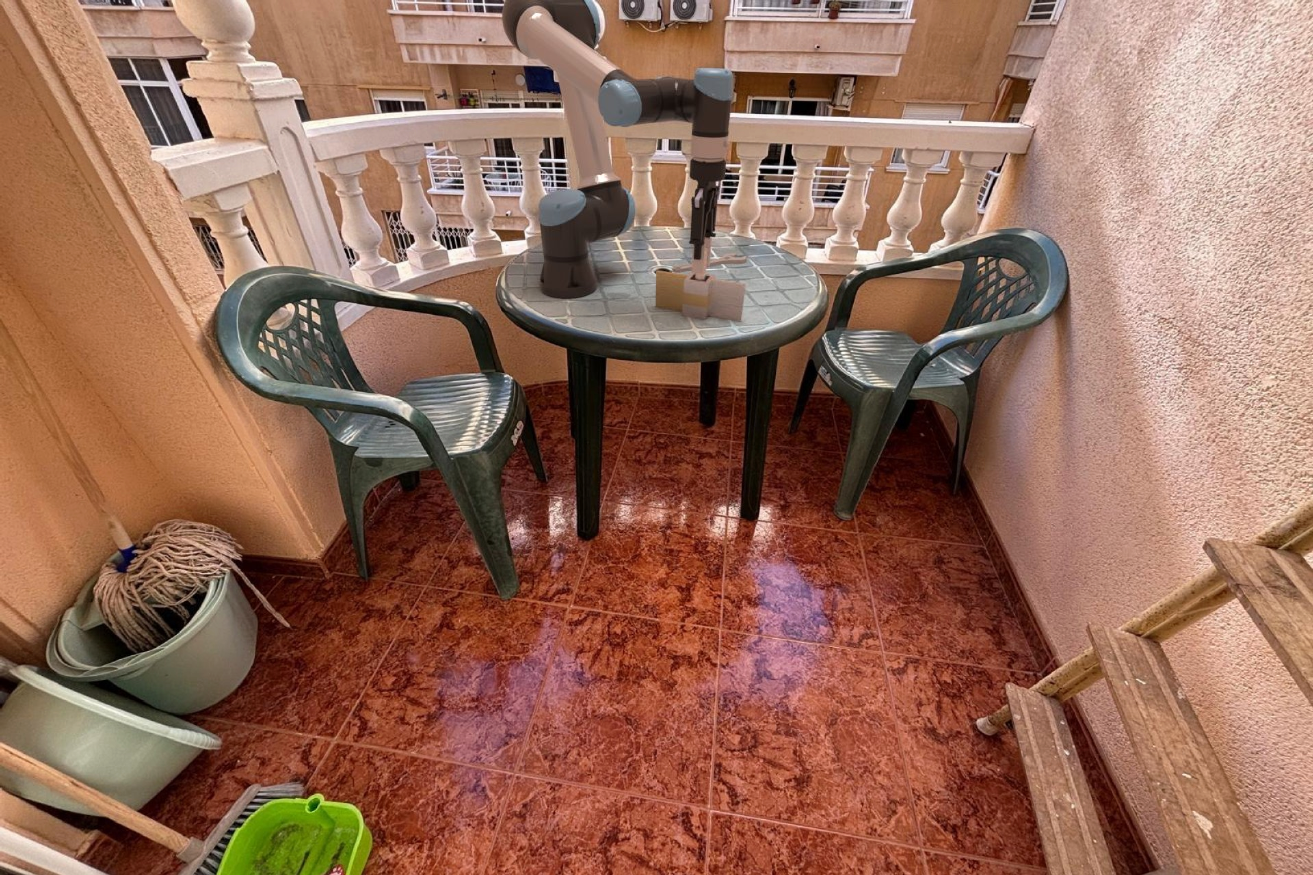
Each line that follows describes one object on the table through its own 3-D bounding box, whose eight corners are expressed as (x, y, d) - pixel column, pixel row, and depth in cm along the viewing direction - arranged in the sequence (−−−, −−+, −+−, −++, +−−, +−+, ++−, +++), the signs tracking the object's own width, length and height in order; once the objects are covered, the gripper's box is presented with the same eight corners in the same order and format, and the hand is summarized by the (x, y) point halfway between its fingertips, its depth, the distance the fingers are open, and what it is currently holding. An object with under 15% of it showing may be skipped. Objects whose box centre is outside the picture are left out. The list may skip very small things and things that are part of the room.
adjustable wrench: (675, 275, 154) (675, 269, 153) (665, 268, 158) (665, 262, 157) (748, 263, 162) (749, 258, 161) (737, 257, 167) (738, 251, 166)
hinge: (651, 310, 132) (652, 275, 127) (660, 301, 137) (661, 267, 131) (737, 325, 126) (742, 289, 121) (743, 315, 131) (748, 280, 125)
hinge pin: (691, 314, 131) (695, 248, 122) (694, 310, 133) (698, 245, 123) (700, 316, 130) (705, 250, 121) (703, 312, 132) (708, 247, 123)
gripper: (714, 167, 103) (705, 284, 117) (736, 153, 116) (725, 259, 130) (677, 164, 105) (673, 279, 119) (703, 150, 118) (696, 255, 132)
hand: (700, 268), depth 125 cm, fingers open, 4 cm apart
